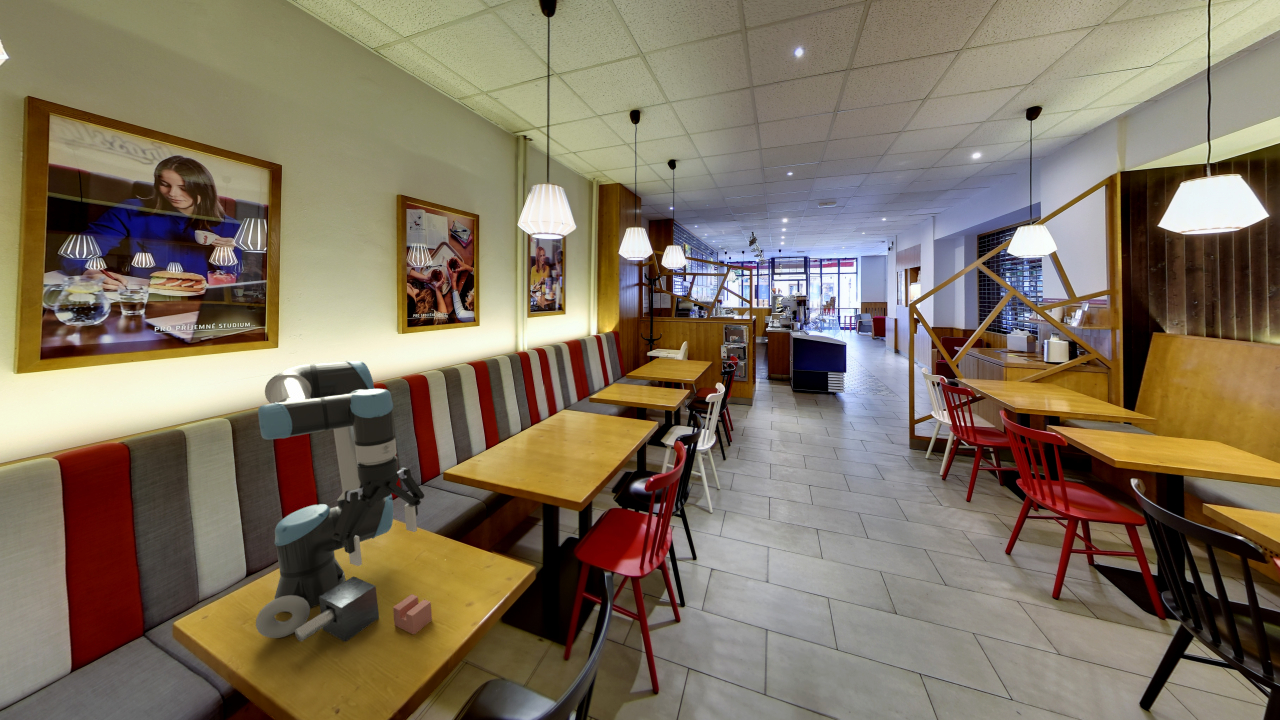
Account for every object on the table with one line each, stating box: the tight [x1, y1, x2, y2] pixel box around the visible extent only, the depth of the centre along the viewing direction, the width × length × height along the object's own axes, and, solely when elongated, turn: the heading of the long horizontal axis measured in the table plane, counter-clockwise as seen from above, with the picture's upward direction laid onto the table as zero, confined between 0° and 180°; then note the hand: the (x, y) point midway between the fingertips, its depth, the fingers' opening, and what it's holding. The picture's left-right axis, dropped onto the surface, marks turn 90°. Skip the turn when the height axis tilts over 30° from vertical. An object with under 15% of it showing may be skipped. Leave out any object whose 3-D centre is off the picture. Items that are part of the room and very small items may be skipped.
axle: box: [294, 607, 336, 643], centre depth 96 cm, size 3×14×3 cm, turn 155°
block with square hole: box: [319, 576, 380, 643], centre depth 99 cm, size 9×8×9 cm
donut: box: [255, 595, 311, 639], centre depth 96 cm, size 10×4×10 cm, turn 118°
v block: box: [392, 593, 433, 635], centre depth 100 cm, size 7×5×5 cm
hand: (385, 546), depth 92 cm, fingers open, 13 cm apart
